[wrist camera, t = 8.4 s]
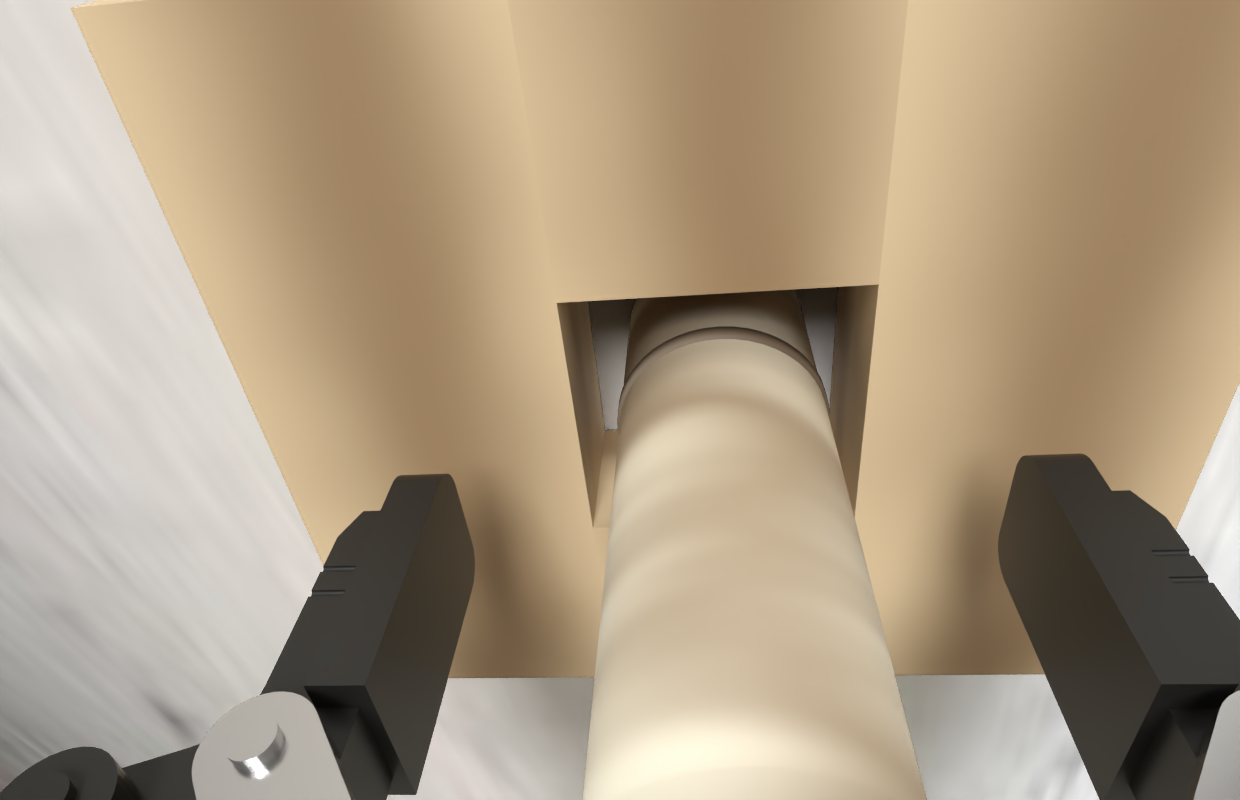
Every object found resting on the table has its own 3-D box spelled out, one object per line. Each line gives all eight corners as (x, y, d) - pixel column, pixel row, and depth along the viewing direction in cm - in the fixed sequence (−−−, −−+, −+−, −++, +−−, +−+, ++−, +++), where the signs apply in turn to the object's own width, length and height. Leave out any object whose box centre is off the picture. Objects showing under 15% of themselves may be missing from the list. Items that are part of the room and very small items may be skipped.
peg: (635, 405, 17) (594, 934, 9) (619, 254, 15) (547, 762, 7) (801, 397, 16) (921, 944, 8) (808, 242, 14) (973, 764, 6)
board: (410, 578, 21) (374, 678, 18) (189, -27, 12) (70, 7, 10) (1057, 565, 19) (1114, 673, 16) (1286, -143, 11) (1462, -137, 8)
